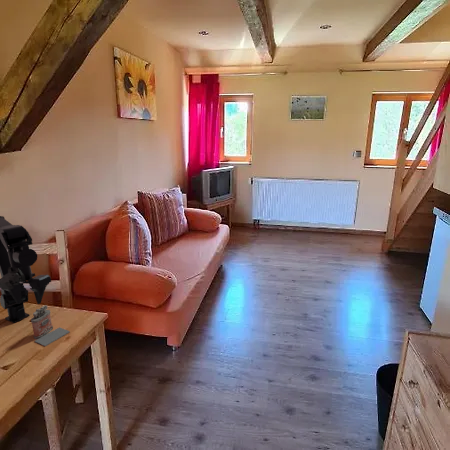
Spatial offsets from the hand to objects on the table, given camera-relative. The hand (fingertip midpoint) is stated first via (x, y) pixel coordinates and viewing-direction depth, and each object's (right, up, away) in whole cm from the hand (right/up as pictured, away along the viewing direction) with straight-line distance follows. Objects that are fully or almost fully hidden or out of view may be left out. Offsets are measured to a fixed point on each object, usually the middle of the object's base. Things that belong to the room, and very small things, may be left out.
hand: (29, 303), depth 122 cm
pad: (+7, -13, +2) cm, 15 cm away
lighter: (+3, -12, +4) cm, 13 cm away
